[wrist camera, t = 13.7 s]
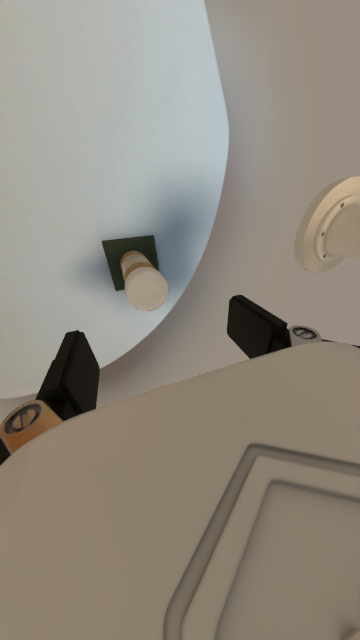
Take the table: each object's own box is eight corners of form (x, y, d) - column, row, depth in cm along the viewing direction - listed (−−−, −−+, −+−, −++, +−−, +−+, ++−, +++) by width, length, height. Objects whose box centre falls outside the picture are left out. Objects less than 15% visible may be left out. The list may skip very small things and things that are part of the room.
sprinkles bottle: (124, 279, 30) (131, 316, 19) (117, 252, 27) (120, 275, 16) (150, 275, 31) (171, 307, 20) (145, 247, 28) (166, 267, 17)
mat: (153, 235, 28) (153, 235, 28) (159, 282, 33) (160, 283, 32) (101, 241, 26) (101, 241, 26) (115, 290, 31) (115, 291, 30)
